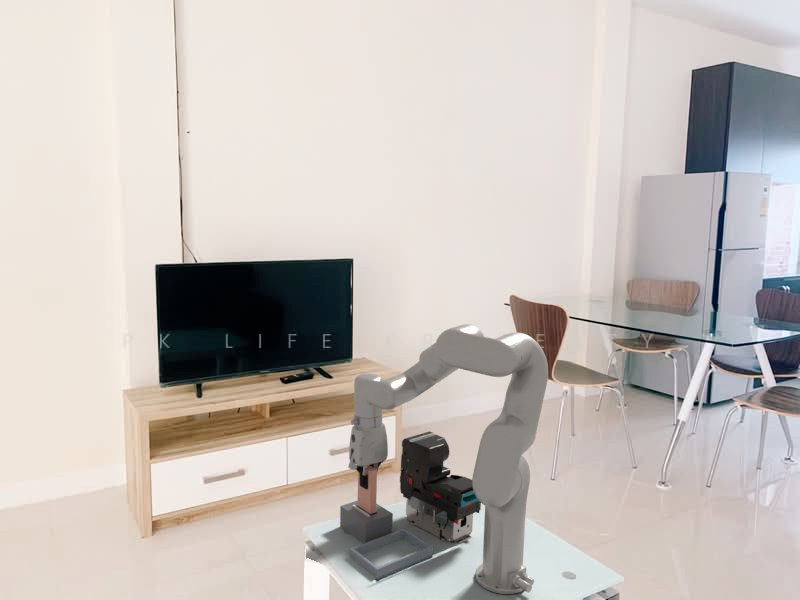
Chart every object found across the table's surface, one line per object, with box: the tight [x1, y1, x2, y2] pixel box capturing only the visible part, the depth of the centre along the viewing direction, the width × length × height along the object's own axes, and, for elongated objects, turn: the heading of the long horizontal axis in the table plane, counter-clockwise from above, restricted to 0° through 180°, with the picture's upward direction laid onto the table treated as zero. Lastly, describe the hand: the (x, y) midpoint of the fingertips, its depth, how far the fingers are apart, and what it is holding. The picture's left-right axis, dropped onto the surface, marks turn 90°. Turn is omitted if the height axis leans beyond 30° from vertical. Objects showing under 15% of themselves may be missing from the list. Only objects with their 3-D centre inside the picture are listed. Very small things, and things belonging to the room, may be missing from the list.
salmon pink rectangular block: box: [357, 465, 378, 514], centre depth 164 cm, size 6×2×12 cm, turn 38°
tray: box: [349, 528, 434, 582], centre depth 153 cm, size 12×18×3 cm, turn 129°
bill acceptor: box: [399, 431, 482, 544], centre depth 167 cm, size 10×23×25 cm, turn 44°
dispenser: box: [339, 500, 394, 544], centre depth 165 cm, size 12×9×7 cm
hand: (367, 486), depth 163 cm, fingers closed on salmon pink rectangular block, 1 cm apart
